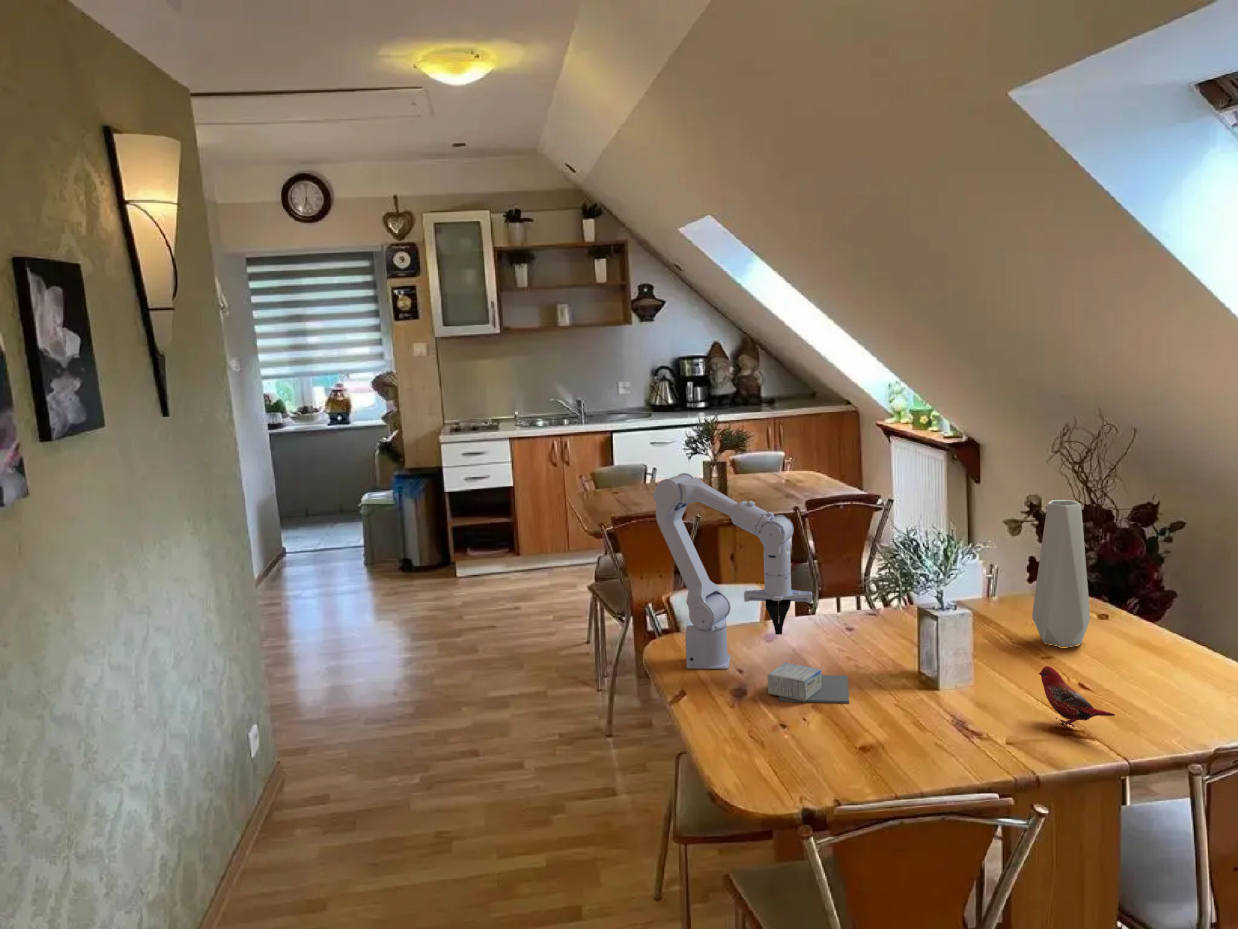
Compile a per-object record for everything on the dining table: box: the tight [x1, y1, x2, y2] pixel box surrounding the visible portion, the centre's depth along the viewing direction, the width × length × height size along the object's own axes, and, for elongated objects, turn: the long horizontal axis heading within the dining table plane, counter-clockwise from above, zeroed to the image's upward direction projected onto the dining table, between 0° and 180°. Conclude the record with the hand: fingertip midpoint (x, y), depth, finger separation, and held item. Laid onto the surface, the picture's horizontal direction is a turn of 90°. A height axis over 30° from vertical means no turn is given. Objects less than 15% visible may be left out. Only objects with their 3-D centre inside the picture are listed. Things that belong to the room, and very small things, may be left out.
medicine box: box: [767, 662, 822, 701], centre depth 200 cm, size 8×4×9 cm
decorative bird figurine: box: [1038, 665, 1116, 728], centre depth 176 cm, size 3×18×10 cm, turn 20°
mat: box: [778, 674, 850, 704], centre depth 202 cm, size 14×14×1 cm
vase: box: [1031, 499, 1091, 647], centre depth 219 cm, size 12×12×33 cm
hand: (778, 633), depth 210 cm, fingers closed
